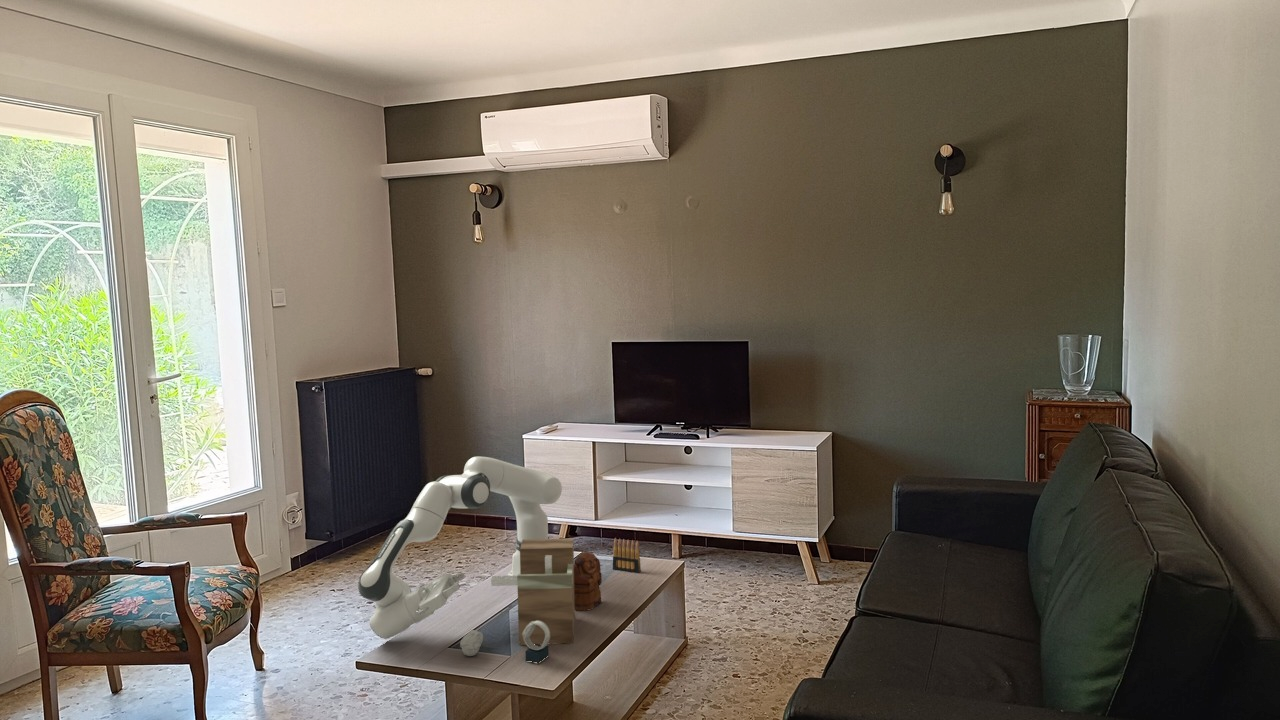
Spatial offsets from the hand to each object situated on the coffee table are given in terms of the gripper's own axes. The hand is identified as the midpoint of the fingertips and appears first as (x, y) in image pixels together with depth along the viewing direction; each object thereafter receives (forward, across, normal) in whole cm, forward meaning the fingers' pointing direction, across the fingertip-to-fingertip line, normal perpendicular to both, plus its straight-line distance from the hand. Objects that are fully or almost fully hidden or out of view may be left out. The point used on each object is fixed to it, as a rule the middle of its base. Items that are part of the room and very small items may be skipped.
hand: (461, 580), depth 263 cm
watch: (+11, -15, +28) cm, 33 cm away
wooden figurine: (+23, +25, +35) cm, 49 cm away
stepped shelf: (+13, +5, +29) cm, 32 cm away
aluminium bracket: (+15, 0, +10) cm, 18 cm away
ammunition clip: (+35, +59, +42) cm, 80 cm away
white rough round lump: (-6, -11, +18) cm, 22 cm away
